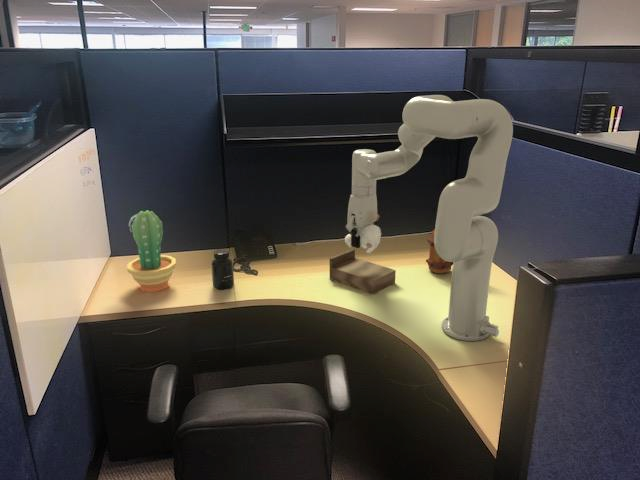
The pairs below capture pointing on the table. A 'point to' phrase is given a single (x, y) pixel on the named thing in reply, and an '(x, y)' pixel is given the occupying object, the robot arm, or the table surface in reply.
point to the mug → (437, 259)
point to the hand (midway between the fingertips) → (362, 243)
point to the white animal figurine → (367, 237)
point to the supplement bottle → (222, 270)
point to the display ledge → (360, 273)
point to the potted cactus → (149, 253)
